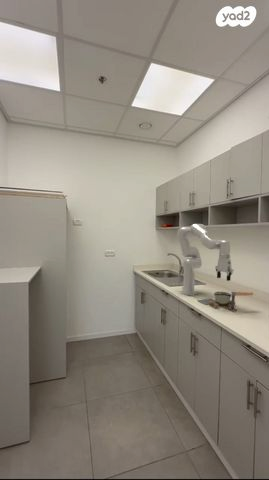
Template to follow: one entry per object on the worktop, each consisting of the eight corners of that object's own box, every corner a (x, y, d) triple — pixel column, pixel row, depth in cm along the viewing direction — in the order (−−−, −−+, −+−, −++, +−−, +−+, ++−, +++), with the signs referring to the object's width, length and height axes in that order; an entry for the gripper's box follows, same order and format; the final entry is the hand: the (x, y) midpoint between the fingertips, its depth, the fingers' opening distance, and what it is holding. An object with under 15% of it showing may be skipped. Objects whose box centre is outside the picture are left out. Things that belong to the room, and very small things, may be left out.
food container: (229, 304, 175) (230, 292, 175) (230, 307, 169) (231, 294, 169) (212, 303, 178) (213, 290, 178) (213, 305, 172) (214, 292, 172)
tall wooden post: (250, 294, 167) (250, 291, 167) (253, 295, 164) (253, 292, 164) (230, 295, 164) (230, 291, 164) (232, 296, 162) (232, 292, 161)
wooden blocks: (208, 305, 173) (208, 291, 173) (227, 302, 181) (227, 289, 180) (224, 312, 158) (225, 298, 158) (244, 309, 166) (245, 295, 165)
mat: (196, 300, 183) (196, 300, 183) (211, 299, 188) (211, 298, 188) (205, 305, 173) (205, 304, 173) (220, 303, 179) (220, 302, 179)
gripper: (237, 258, 165) (236, 281, 165) (219, 255, 181) (219, 276, 181) (229, 258, 162) (228, 282, 162) (212, 255, 178) (211, 277, 178)
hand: (223, 279), depth 172 cm, fingers open, 9 cm apart
